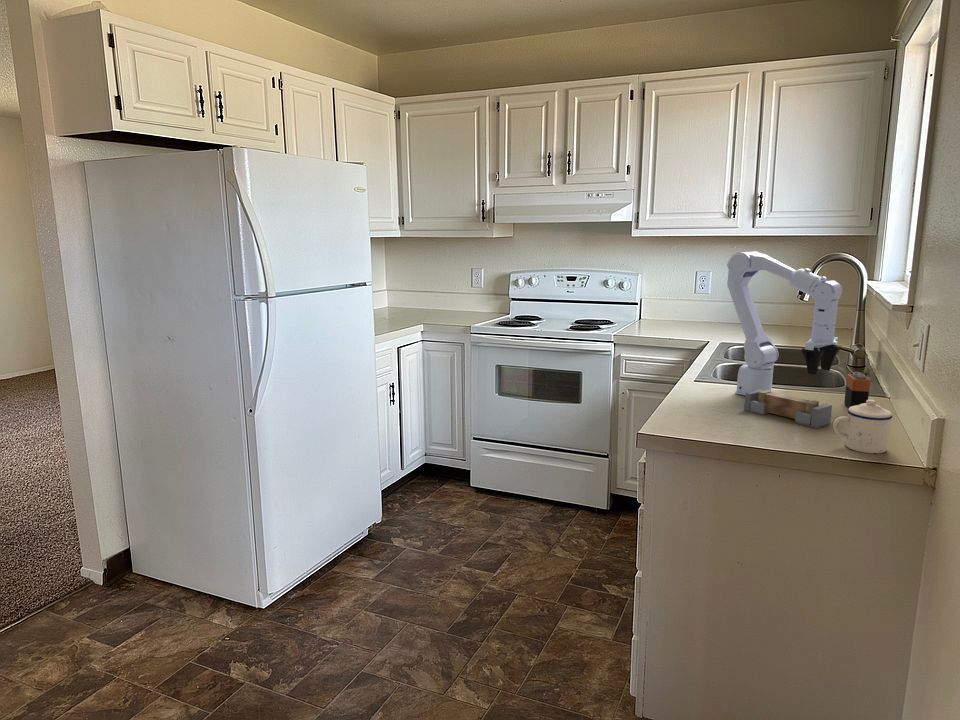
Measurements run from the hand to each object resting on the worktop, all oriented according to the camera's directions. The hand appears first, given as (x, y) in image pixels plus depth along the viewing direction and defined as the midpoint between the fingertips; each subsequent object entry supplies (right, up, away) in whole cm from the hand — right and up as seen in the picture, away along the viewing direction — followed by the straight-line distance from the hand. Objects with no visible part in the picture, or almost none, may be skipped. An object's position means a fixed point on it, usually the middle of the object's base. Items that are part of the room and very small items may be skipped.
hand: (818, 371), depth 187 cm
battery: (+11, -10, +2) cm, 16 cm away
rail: (-12, -12, -6) cm, 18 cm away
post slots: (-12, -12, -6) cm, 18 cm away
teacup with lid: (-6, -18, -30) cm, 36 cm away
